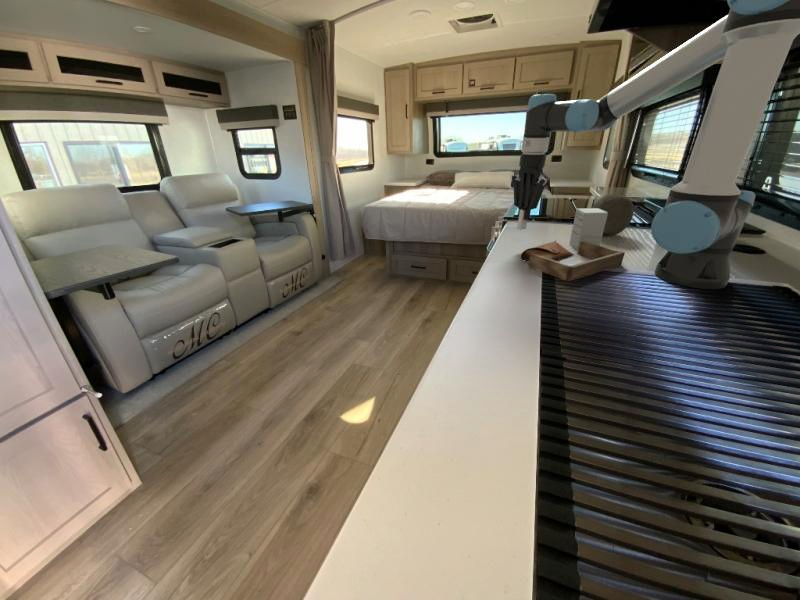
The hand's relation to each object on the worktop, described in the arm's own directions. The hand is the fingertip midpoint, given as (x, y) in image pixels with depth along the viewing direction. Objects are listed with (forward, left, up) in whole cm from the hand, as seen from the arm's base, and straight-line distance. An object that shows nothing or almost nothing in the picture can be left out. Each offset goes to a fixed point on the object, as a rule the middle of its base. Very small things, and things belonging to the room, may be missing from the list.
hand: (521, 228), depth 113 cm
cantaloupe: (-6, -40, -7) cm, 41 cm away
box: (-22, 0, -7) cm, 23 cm away
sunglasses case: (-12, 0, -7) cm, 14 cm away
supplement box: (-11, -19, -7) cm, 23 cm away
